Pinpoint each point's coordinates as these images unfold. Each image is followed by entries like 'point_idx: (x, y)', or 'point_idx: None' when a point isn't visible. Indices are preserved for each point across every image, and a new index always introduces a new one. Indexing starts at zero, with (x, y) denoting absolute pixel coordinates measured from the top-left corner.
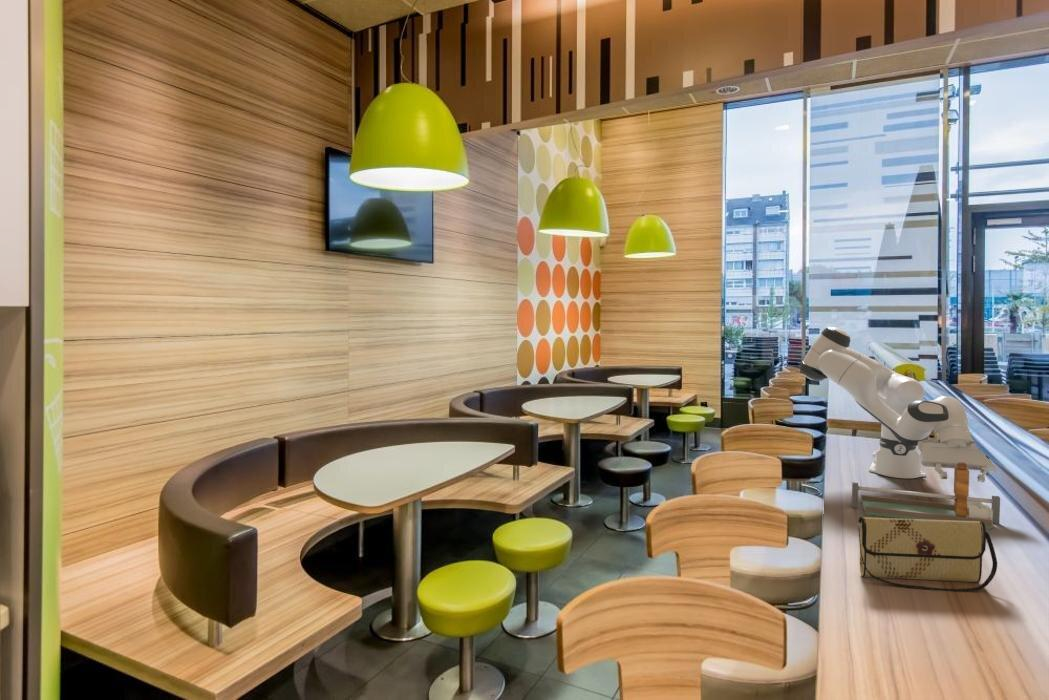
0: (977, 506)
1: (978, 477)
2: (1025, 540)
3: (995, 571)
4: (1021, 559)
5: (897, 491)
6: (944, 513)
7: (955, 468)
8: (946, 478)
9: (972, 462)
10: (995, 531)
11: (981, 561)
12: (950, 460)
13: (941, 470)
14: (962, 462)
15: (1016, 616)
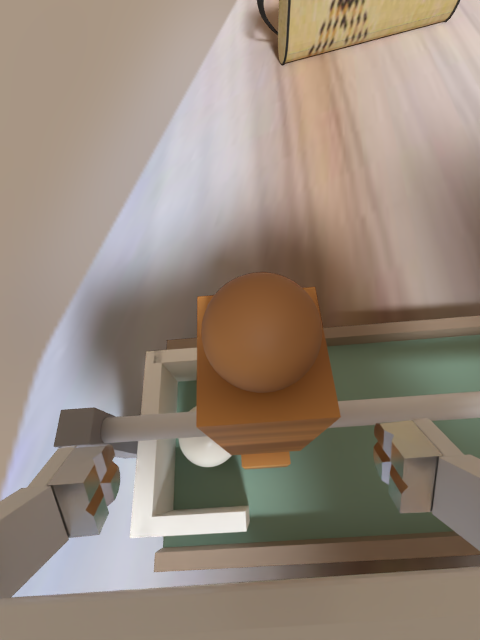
0: (172, 512)
1: (99, 481)
2: (112, 289)
3: (260, 13)
4: (177, 166)
5: None
6: (325, 437)
7: (329, 360)
8: (377, 442)
9: (22, 630)
10: (171, 334)
11: (279, 4)
12: (451, 616)
13: (468, 461)
14: (256, 288)
15: (250, 17)
